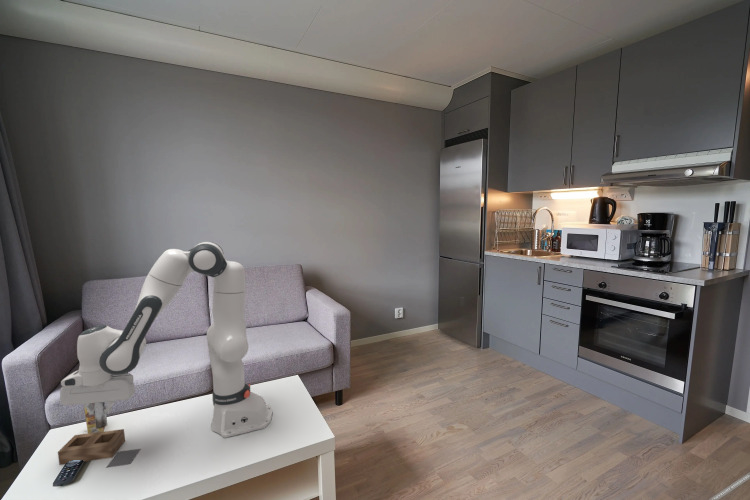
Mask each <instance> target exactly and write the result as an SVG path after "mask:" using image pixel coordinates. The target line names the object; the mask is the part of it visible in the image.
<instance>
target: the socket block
mask: <svg viewBox="0 0 750 500" xmlns="http://www.w3.org/2000/svg"><path fill="white" fill-rule="evenodd" d="M125 442H126V437H125V429H123V428H122V429H115V430H107V431H106V430H104V432H96V433H88V432H87V433H82V434H75V435H74V436H72V437H71V439H69V440H68V441H67V443H65V444H64V445H63V446H62V447H61V448H60V449H59V450H58V451H57V456H58V463H59V466H60V465H61V466H62V465H67V464H66V463H67V462H69V461H72V460H83V461H84V462H91V461H98V460H102V459H103V460H105V459H113V458H114V456H115V455H116V454H117V453H118V452H119V450H120V448H121V447H122V446H123V445H124V443H125Z"/></svg>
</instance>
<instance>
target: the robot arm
mask: <svg viewBox="0 0 750 500" xmlns="http://www.w3.org/2000/svg"><path fill="white" fill-rule="evenodd" d="M193 272H196V273H198V274H201V275H205V276H208V277H211V278H213V293H212V297H213V298H212V317H213V323H211V325H210V326H209V327H208V329H207V331H206V341H207V348H208V349H207V350H208V355H209V359H210V360H209V361H210V362H209V363H210V367H211V373H212V386H213V391H212V395H211V396H212V399H211V400H212V404H213V415H212V422H211V426H210V428H211V430H212V431H213V432H215V433H217V434H219V435H220V436H221V437H222V438H223V439H225V438H230V437H234V436H237V435H242V434H246V433H249V432H253V431H257V430H262V429H264V428H267V427H268V426H269V424H271V421H272V418H273V409H272V406H270V404H266V401H265V399H264V397H263V396H262V395H259V394H257V393H254V392H252V391H251V383H249V384H246V383H245V368H244V361H243V359H244V358H245V356H246V355H247V354H248V351H249V343H248V339H247V325H246V318H245V316H246V315H245V301H246V300H245V299H246V287H247V286H246V284H247V283H246V272H245V267H244V266H243V264H242V263H239V262H237V261H233V260H232V261H231V260H227V259H226V258H225V255H224V250H223V249H222V247H221V246H220V245H219V244H218V243H215V242H213V241H203V242H200V243H198V244H196V245H194V247H192V248H190V249H188V250H187V251H184V250H183V249H178V248H169V249H167V250H165V251H163V253H162V254H161V255H160V256H159V257H158V259H157V260H156V261H155V262H154V264H153V265H152V267H151V269H150V271H149V272H148V273H147V275H146V277H145V280H144V282H143V284H142V286H141V290H140V293H139V296H138V300H137V302H136V306H135V309H134V311H133V312H132V315H131V317H130V318H129V320H128V322H127V324H126V326H125V327H124V329H123V330H122V329H116V328H112V327H111V326H109V325H102V324H101V325H96V326H92V327H90V328H88V329H85V330H84V331H82V332H81V333H80V334H79V335H78V337H77V342H76V350H77V351H76V355H77V359H78V361H79V367H78V370H76V371H73V372H72V373H70V374H68V375H67V376H66V377H64V378H63V379H62V380H61V381H60V386H61V389H60V392H59V396H60V397H59V398H60V403H61V405H63V406H66V407H67V406H76V405H83V408H84V407H85V408H86V409H87V410H88V411H89V415H95V412H94V406H93V405H92V404H91V403H99V402H106V408H105V409H104V413H107V414H111V412H112V411H113V405H114V404H115V402H120V401H128V400H130V399H131V398H132V397H133V396H134V395H135V394H136V388H135V383H134V375H133V374H132V373H130V372H132V371H133V370H134V369H135V368H136V367H137V365H138V364H139V361H140V358H141V357H142V354H143V353H144V351H145V348H146V347H147V339H146V336H147V334H148V332H149V330H150V329H151V327H152V325H153V323H154V321H155V320H156V319H157V317H159V315H160V314H161V313H162V312H163V311H164V309H165V308H166V307H167V306H168V305H169V304H170V303H171V302H172V300H174V298H175V297H176V295H178V293H179V292H180V290H181V289H182V287H183V285H184V283H185V281H186V279H187V277H188V276H189V275H190V274H191V273H193Z"/></svg>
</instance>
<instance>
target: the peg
mask: <svg viewBox="0 0 750 500" xmlns="http://www.w3.org/2000/svg"><path fill="white" fill-rule="evenodd" d="M106 407H107V402H99V403H94V412H95V423H96V428H97V429H100V428H103V427H105V428H106V426H108V415H107V414H108V413H104V409H105V408H106Z"/></svg>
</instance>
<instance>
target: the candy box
mask: <svg viewBox="0 0 750 500" xmlns="http://www.w3.org/2000/svg"><path fill="white" fill-rule="evenodd" d="M91 404H92V405H93V406H94V403H91ZM83 409H84V416H85V422H86V431H87V434H88V433H96V432H104V431H105V428H106V426H105V427H103V428H100V429H97V428H96V423H95V415H89V411H88V410H87V409H86V408H85V407H84V406H83Z"/></svg>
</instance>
